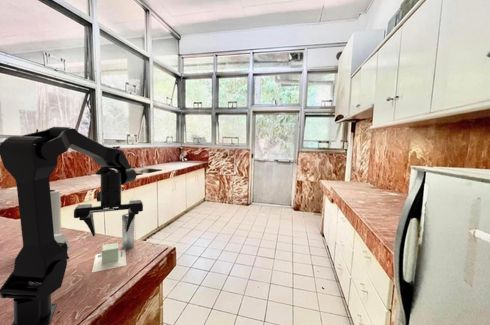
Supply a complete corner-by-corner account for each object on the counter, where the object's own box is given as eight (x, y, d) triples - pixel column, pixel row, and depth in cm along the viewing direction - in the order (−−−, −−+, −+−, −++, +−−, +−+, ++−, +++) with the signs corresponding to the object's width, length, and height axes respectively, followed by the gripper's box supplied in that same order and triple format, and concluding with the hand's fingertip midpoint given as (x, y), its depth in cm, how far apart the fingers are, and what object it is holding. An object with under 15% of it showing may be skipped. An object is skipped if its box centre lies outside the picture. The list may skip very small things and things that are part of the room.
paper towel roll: (65, 246, 79) (64, 189, 78) (45, 253, 73) (45, 192, 72) (51, 243, 81) (50, 188, 80) (31, 250, 75) (30, 190, 74)
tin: (134, 248, 80) (135, 215, 79) (121, 250, 78) (122, 217, 77) (134, 244, 83) (134, 212, 83) (121, 246, 81) (121, 214, 80)
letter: (126, 265, 68) (126, 265, 68) (92, 273, 63) (91, 272, 63) (125, 249, 78) (125, 249, 78) (95, 255, 74) (95, 254, 74)
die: (39, 270, 65) (63, 242, 67) (20, 253, 66) (44, 226, 69) (60, 265, 73) (81, 240, 75) (43, 250, 74) (64, 226, 77)
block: (118, 261, 70) (118, 248, 70) (101, 264, 68) (102, 250, 67) (118, 255, 74) (118, 242, 74) (102, 258, 72) (102, 245, 71)
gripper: (140, 182, 81) (140, 221, 82) (79, 184, 72) (79, 229, 73) (143, 187, 72) (142, 232, 73) (73, 190, 62) (73, 242, 63)
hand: (111, 233), depth 71 cm, fingers open, 9 cm apart
